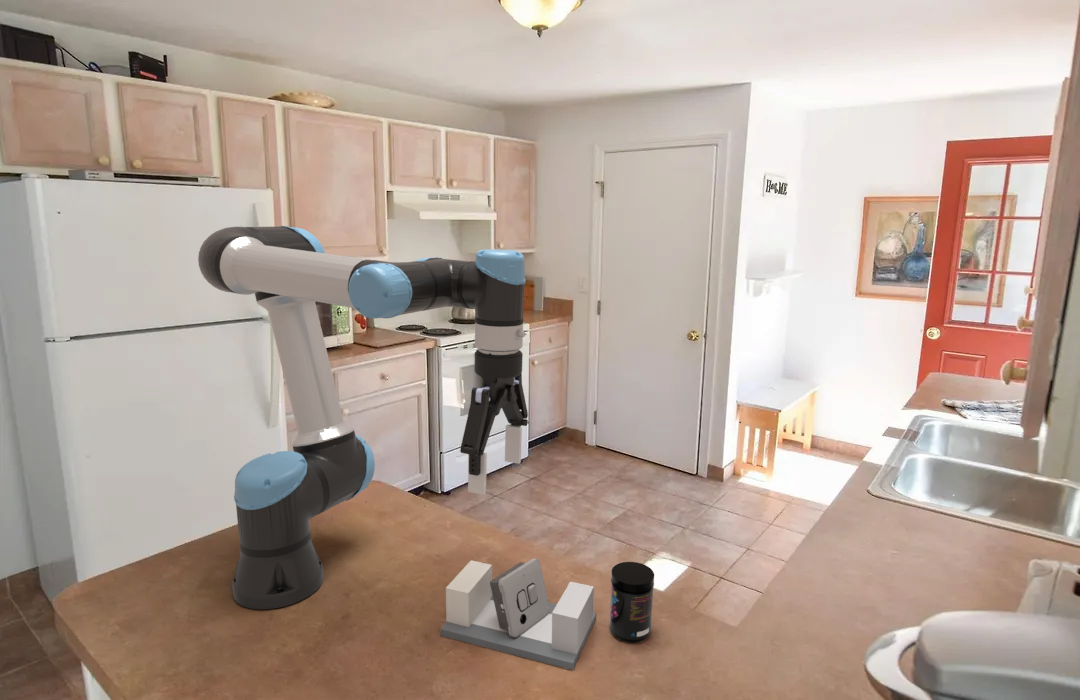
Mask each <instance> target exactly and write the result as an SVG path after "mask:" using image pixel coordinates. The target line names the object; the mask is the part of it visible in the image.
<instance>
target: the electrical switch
mask: <svg viewBox="0 0 1080 700" xmlns="http://www.w3.org/2000/svg"><path fill="white" fill-rule="evenodd" d="M543 574H544V573H543V570H542V565H541V562H540V559H538V558H535V557H534V558H531V559H530V560H528V561H527V562H518V563H517V564H515V565H514V566H511V568H509V569H507V570H506V571H504V572H503V573H501V574H499V575H498V576H497V577H495V578H492V580H491V581H490V586H491V590H492V595H493V600H494V604H495V609H496V613H497V618H498V622H499V627H500V628H501V629H506V630H507V631H509V635H510V636H511V637H518V636H519V635H520V634H522V633H523V632H524V631H525V630H527V629H528V628H529V627H531V626H532V625H533V624H535V623H536V622H537V621H538V620H540V619H541V618H542V617H544V616H545V615H546V614H548V613H549V610H550V606H549V598H548V597H549V596H548V592H547V589H546V588H547V587H546V583H545V580H544V575H543ZM500 600H501V601H500ZM501 604H502V607H503V609H502V607H501ZM502 611H503V612H502Z"/></svg>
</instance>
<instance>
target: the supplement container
mask: <svg viewBox="0 0 1080 700" xmlns="http://www.w3.org/2000/svg"><path fill="white" fill-rule="evenodd" d="M610 575H611V576H610V577H611V578H610V582H611V584H610V586H611V587H610V607H609V608H610V609H609V612H610V613H609V629H610V631H611V633H612V636H614V637H615V638H616V639H618V640H619V641H621V642H624V643H628V644H629V643H630V644H638V643H641V642H644V641H646V640H647V639H648V638H649V637H650V635H651V633H652V624H653V623H652V621H653V601H654V588H655V572H654V571H653V569H652V568H650V566H648V565H646V564H644V563H640V562H637V561H623V562H619V563H617V564H615V565H614V566H613V567H612V568H611V574H610Z"/></svg>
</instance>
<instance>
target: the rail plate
mask: <svg viewBox="0 0 1080 700" xmlns="http://www.w3.org/2000/svg"><path fill="white" fill-rule="evenodd" d="M491 580H493V565H492V564H490V563H484V562H482V561H481V562H480V561H475V560H471V559H470V561H469V562H468V563H467V564H466V565H465V566H464V567H463V569H462V570H461V571H460V572H459V573H458V574H457V575H456V576H455V577H454V579H452V581H451V582H449V584H448V585H447V586H446V587H445V607H446V608H445V611H446V615H445V617H446V619H445V620H446V621H445V623H444V624H443V625H442V626H441V628H440V637H444V638H449V639H451V640H456V641H459V642H463V643H467V644H471V645H475V646H479V647H483V648H486V649H489V650H494V651H498V652H502V653H505V654H508V655H509V654H510V655H513V656H518V657H521V658H523V659H528V660H531V661H535V662H536V661H537V662H539V663H543V664H547V665H550V666H555V667H559V668H562V669H565V668H566V669H567V670H569V669H570V671H573V670H574V669H575V666H576V663H577V662H578V660H579V657H580V655H581V653H582V650H583V649H584V647H583V646H585V644H586V641H587V640H588V638H589V636H588V635H590V633H591V631H592V630H593V626H594V625H593V624H595V623H596V620H597V612H594V595H595V594H594V593H595V586H592V585H588V584H583V583H579V582H576V581H575V582H574V581H569V583H568V584H567V587H566V588H565V590H564V591H563V593H562V595H561V597H560V598H559V600H558V602H557V603H554V602H551V601H550V602H549V606H550V610H549V613H548V614H546V615H545V616H544V617H542V618H541V619H540V620H538V621H537V622H536V623H535V624H533V625H532V626H531V627H529V628H528V629H527V630H525V631H524V632H523V633H522V634H520V635H519V636H518V637H511V636H510V635H509V631H507V630H506V629H501V628H500V627H499V622H498V618H497V613H496V609H495V604H494V600H493V595H492V590H491V586H490V581H491ZM500 601H501V600H500ZM501 607H502V604H501ZM502 609H503V607H502ZM502 612H503V611H502ZM594 622H595V623H594ZM587 637H588V638H587ZM577 659H578V660H577Z"/></svg>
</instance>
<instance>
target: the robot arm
mask: <svg viewBox="0 0 1080 700" xmlns="http://www.w3.org/2000/svg"><path fill="white" fill-rule="evenodd" d="M197 258H198V259H197V260H198V262H197V263H198V267H199V270H200V273H201V275H202V276H203V278H204V280H206V282H207V283H208V284H210V285H211V286H212V287H214V288H215V289H218V290H219V291H223V292H226V293H232V294H237V295H246V296H248V295H254V297H255V300H256V301H255V302H256V304H257V305H259V306H260V307H262V308H263V309H265V310H266V311H267V312H268V316H269V320H270V326H271V329H272V333H273V336H274V341H275V345H276V349H277V353H278V357H279V362H280V366H281V370H282V374H283V377H284V381H285V386H286V389H287V394H288V399H289V401H290V405H291V411H292V413H293V418H294V422H295V425H296V431H297V434H296V435H297V436H296V437H295V438H294V440H293V441H292V443H291V446H292V451H291V450H285V451H284V450H282V451H276V452H274V453H266V454H262V455H261V456H258V457H255V458H254V459H252V460H249V461H248V462H247V463H245V464H244V465H243V466H241V467H240V469H239V470H238V472H237V473H236V475H235V479H234V496H233V500H234V502H235V506H236V509H235V510H236V517H237V518H236V519H237V528H238V540H239V552H240V553H239V555H238V560H237V563H236V569H235V574H234V575H233V579H232V582H231V584H232V585H231V589H232V596H233V599H234V601H235V602H236V603H237V604H238V605H239V606H241V607H244V608H247V609H252V610H272V609H273V610H274V609H278V608H279V609H280V608H283V607H288V606H291V605H293V604H297V603H298V602H301V601H303V600H304V599H306V598H309V597H310V596H312V595H313V594H314V593H315V592H317V590H319V588H320V587H321V586H322V584H323V582H324V579H325V577H324V576H325V575H324V564H323V563H322V560H321V559H320V557H319V554H318V552H317V549H316V547H315V545H314V543H313V541H312V536H311V535H312V534H311V519H313V518H314V517H317V516H318V515H320V514H322V513H324V512H326V511H328V510H330V509H332V508H334V507H336V506H338V505H340V504H342V503H344V502H346V501H350V500H351V499H353V498H355V497H356V496H357V495H359V494H360V493H362V492H363V491H365V490H366V489H367V488H368V487H369V485H370V483H371V482H372V480H373V478H374V474H375V469H376V468H375V466H376V465H375V464H376V463H375V455H374V452H373V450H372V448H371V446H370V444H369V443H368V444H366V440H365V439H364V438H363V437H362V436H359V435H356V432H355V427H354V426H351V425H349V424H347V423H346V422H345V421H344V417H343V413H342V409H341V404H340V400H339V397H338V391H337V388H336V384H335V380H334V379H335V378H334V376H333V371H332V368H331V362H330V359H329V355H328V354H329V353H328V350H327V345H326V343H325V338H324V333H323V329H322V326H321V320H320V318H319V312H318V307H317V304H316V302H317V303H324V304H329V305H334V306H338V307H339V306H340V307H345V308H350V309H355V311H356V312H358V313H359V314H360V315H361V316H363V317H365V318H368V319H391V318H396V317H397V316H402V315H403V316H404V315H408V314H413V313H417V312H424V311H430V310H435V309H441V308H447V307H448V308H449V307H450V308H460V309H468V310H474V314H475V315H474V316H475V317H474V318H475V321H474V347H475V348H476V350H475V352H474V368H473V369H474V373H475V374H476V375H477V376H479V377H481V378H482V383H481V388H480V387H472V388H471V396H470V403H469V404H470V405H469V409H468V414H467V419H466V422H465V426H464V427H465V428H464V430H463V436H462V440H461V444H460V451H459V452H460V453H461V454H464V455H465V454H466V455H468V457H467V458H468V460H467V461H468V465H467V466H468V467H467V469H468V475H467V477H468V478H467V479H468V480H467V482H468V483H467V492H468V493H473V494H478V495H481V496H483V495H484V496H485V494H487V463H488V462H487V459H488V457H487V456H488V454H487V452H485V449H486V445H487V443H488V441H489V437H490V433H491V431H492V428H493V425H494V422H495V420H496V419H495V418H496V417H497V416H498V415H500V412H501V409H502V411H503V414H504V416H505V419H506V421H507V423H508V424H506V425H505V434H504V435H505V436H504V437H505V441H504V443H505V444H504V462H507V463H512V464H518V465H519V464H521V463H522V433H523V431H522V430H523V427H526V426H528V423H529V421H528V419H527V418H528V417H529V414H528V408H527V404H526V397H525V393H524V388H523V387H524V386H523V379H522V377H523V376H522V375H523V374H522V372H523V355H524V354H523V352H522V351H521V349H522V348H523V346H524V345H523V343H524V337H525V336H526V331H524V306H525V303H524V302H525V285H526V282H527V280H526V271H525V269H526V265H525V262H526V261H525V256H524V255H523V253H522V252H520V251H518V250H512V249H495V248H494V249H489V248H488V249H479V250H478V251H477V252H476V255H475V260H474V261H473V260H472V261H469V260H458V259H450V258H449V259H448V258H442V257H421V258H418V259H417V260H415V261H407V262H405V261H403V262H401V261H400V262H399V261H398V262H397V261H394V262H393V261H383V260H375V259H370V258H369V259H368V258H362V257H354V256H345V255H339V254H332V253H326V251H325V249H324V247H323V245H322V243H321V241H320V240H319V239H318V238H317V237H316V236H315V235H314V234H313V233H311V232H310V231H308V230H306V229H304V228H302V227H301V228H300V227H292V226H288V225H286V226H285V225H281V226H229V227H224V228H222V229H218V230H216V231H214V232H213V233H211V234H210V235H209V236H208V237H207V238H206V239H205V240H204V241H203V242H202V244H201V246H200V248H199V251H198V257H197ZM522 426H523V427H522Z"/></svg>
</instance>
